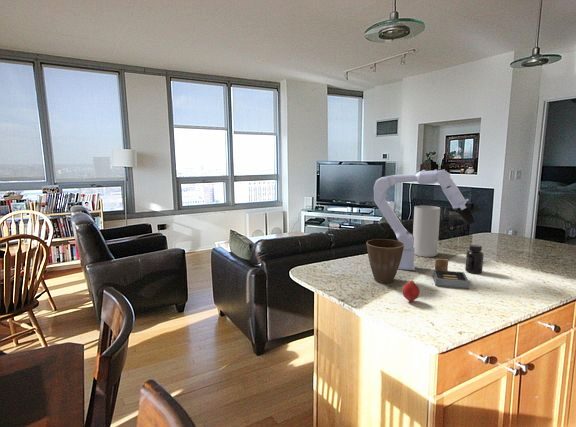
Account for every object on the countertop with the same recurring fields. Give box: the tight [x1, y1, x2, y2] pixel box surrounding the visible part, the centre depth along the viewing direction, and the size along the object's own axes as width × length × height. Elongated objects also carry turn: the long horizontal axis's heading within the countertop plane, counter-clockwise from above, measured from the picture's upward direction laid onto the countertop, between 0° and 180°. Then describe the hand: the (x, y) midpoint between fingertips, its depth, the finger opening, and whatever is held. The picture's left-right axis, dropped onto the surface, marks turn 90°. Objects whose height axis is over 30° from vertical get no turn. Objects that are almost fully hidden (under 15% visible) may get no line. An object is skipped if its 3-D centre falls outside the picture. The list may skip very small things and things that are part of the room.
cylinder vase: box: [412, 205, 441, 258], centre depth 186 cm, size 12×12×25 cm
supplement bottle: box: [464, 244, 485, 275], centre depth 158 cm, size 7×7×12 cm
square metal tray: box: [432, 269, 470, 290], centre depth 145 cm, size 12×12×3 cm
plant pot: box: [366, 238, 404, 284], centre depth 147 cm, size 15×15×16 cm
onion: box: [401, 279, 421, 303], centre depth 126 cm, size 6×6×8 cm
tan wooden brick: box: [434, 258, 449, 271], centre depth 158 cm, size 5×2×6 cm, turn 73°
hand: (470, 221), depth 153 cm, fingers open, 7 cm apart
